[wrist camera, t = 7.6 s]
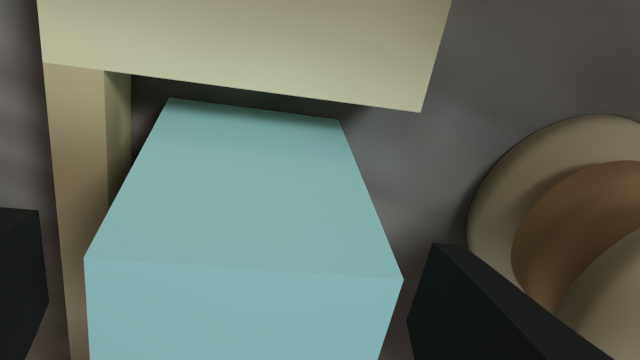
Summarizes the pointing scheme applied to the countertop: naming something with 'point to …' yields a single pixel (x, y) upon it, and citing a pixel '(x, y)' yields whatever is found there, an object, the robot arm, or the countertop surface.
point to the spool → (569, 226)
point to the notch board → (206, 82)
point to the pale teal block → (240, 244)
